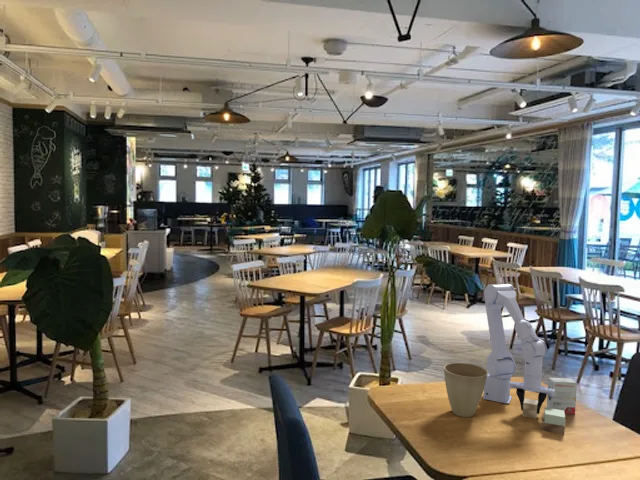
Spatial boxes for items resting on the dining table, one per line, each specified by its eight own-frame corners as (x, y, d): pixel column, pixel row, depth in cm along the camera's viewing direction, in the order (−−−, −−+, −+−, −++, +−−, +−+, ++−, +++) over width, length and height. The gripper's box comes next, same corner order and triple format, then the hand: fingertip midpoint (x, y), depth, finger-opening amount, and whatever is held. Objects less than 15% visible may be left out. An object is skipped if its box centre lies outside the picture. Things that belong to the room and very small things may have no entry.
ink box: (570, 409, 187) (572, 378, 186) (575, 414, 182) (577, 382, 181) (545, 407, 188) (548, 376, 187) (550, 413, 183) (552, 381, 182)
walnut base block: (540, 430, 170) (541, 422, 169) (542, 422, 176) (543, 414, 176) (564, 435, 166) (564, 426, 166) (564, 427, 173) (565, 419, 172)
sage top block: (544, 422, 169) (545, 413, 169) (544, 415, 174) (544, 407, 174) (564, 426, 167) (565, 417, 166) (563, 419, 172) (564, 410, 172)
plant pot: (438, 417, 177) (440, 372, 176) (445, 401, 191) (447, 360, 189) (483, 425, 171) (486, 379, 170) (486, 409, 185) (489, 366, 184)
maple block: (522, 416, 180) (523, 402, 180) (524, 411, 184) (524, 398, 184) (536, 419, 178) (537, 405, 177) (537, 414, 182) (538, 400, 181)
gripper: (509, 373, 180) (507, 410, 181) (554, 381, 173) (551, 420, 174) (512, 367, 186) (510, 403, 187) (555, 375, 179) (553, 412, 180)
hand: (530, 411), depth 181 cm, fingers closed on maple block, 4 cm apart
